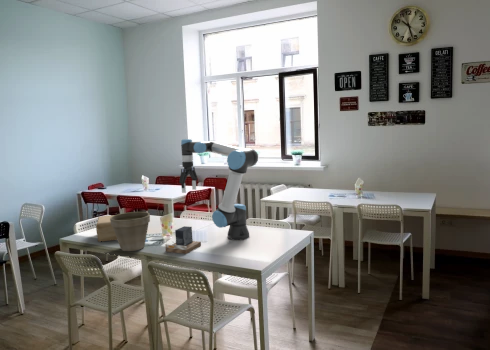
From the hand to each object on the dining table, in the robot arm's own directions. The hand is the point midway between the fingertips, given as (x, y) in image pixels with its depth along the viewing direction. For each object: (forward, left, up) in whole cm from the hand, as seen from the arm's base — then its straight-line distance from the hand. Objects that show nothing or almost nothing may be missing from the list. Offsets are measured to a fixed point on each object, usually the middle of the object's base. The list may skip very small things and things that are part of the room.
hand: (189, 191), depth 293 cm
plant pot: (+20, +40, -32) cm, 55 cm away
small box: (-13, +29, -29) cm, 43 cm away
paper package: (+51, +19, -32) cm, 63 cm away
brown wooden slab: (-13, +30, -32) cm, 46 cm away
